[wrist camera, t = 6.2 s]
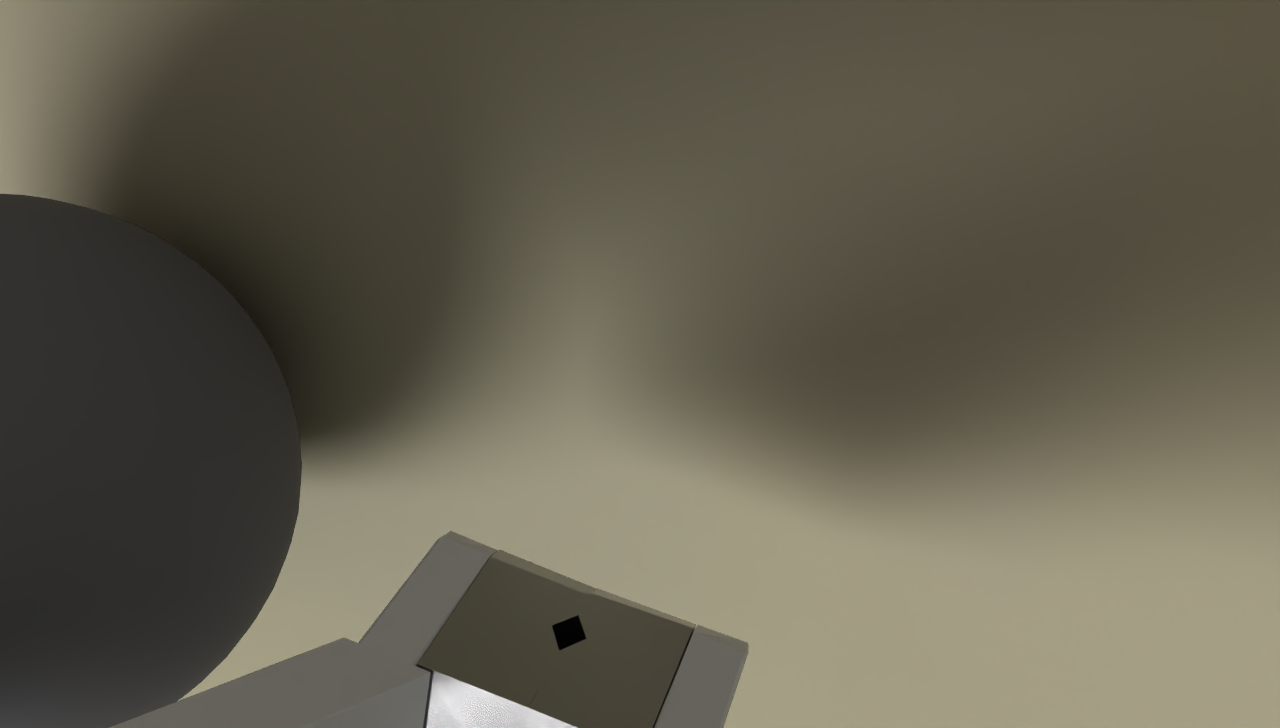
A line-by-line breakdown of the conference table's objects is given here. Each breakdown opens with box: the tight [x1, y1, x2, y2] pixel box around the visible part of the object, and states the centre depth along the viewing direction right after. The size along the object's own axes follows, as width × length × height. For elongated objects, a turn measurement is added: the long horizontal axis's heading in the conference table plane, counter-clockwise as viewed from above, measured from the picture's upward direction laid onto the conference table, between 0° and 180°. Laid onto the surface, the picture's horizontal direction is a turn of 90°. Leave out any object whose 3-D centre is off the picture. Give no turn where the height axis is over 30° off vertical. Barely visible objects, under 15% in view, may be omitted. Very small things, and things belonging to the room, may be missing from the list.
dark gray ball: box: [0, 194, 302, 728], centre depth 11 cm, size 6×6×6 cm
